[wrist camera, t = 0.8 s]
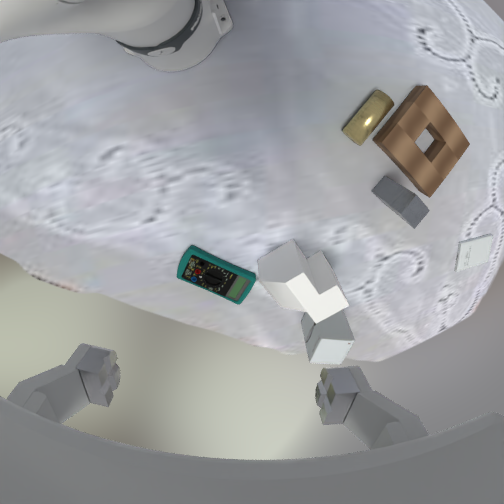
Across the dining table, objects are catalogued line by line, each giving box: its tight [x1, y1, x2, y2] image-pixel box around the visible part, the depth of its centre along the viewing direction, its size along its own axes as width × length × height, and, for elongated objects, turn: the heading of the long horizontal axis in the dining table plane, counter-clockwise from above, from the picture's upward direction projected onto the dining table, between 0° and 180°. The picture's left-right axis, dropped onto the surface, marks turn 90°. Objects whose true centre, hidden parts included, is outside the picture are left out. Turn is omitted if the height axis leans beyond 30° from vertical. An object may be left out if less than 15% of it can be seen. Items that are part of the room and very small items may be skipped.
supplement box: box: [301, 309, 355, 364], centre depth 57 cm, size 7×7×13 cm
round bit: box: [342, 90, 394, 146], centre depth 41 cm, size 10×4×4 cm, turn 144°
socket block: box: [373, 85, 470, 197], centre depth 43 cm, size 15×15×4 cm
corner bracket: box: [258, 239, 349, 323], centre depth 51 cm, size 11×11×12 cm
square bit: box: [372, 176, 429, 229], centre depth 44 cm, size 4×4×12 cm
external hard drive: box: [454, 234, 493, 272], centre depth 56 cm, size 2×8×12 cm
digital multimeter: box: [177, 245, 256, 304], centre depth 56 cm, size 7×15×3 cm, turn 62°
